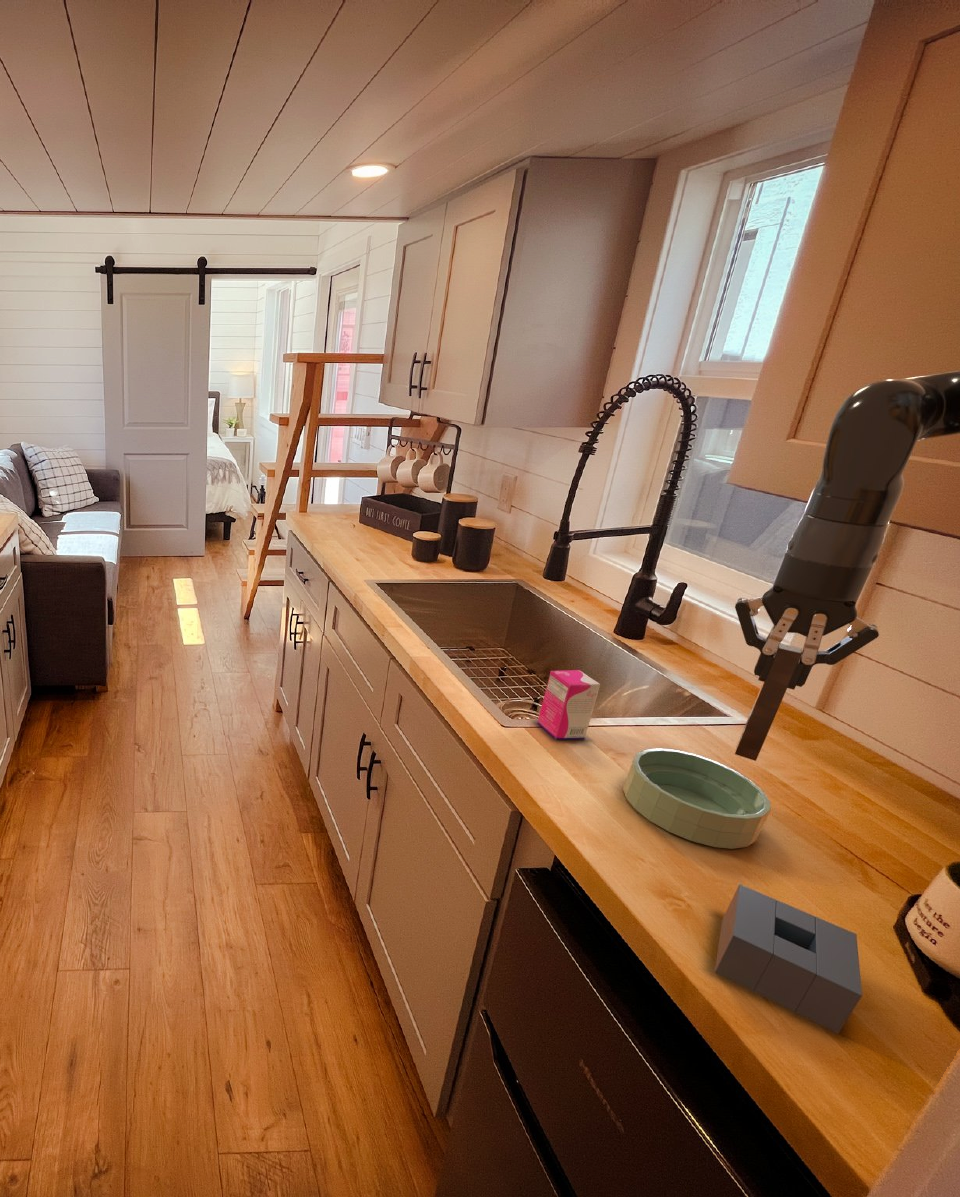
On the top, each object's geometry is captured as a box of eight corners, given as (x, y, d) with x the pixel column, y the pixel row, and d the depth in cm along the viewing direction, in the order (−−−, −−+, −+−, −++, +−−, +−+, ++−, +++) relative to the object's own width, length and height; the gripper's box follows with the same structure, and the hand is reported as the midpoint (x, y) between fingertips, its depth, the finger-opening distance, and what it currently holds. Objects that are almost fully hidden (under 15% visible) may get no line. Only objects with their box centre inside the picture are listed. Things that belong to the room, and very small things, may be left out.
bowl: (757, 812, 100) (772, 780, 98) (751, 870, 89) (768, 835, 86) (632, 765, 110) (643, 736, 108) (612, 812, 99) (624, 780, 97)
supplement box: (564, 722, 122) (580, 669, 118) (585, 740, 117) (603, 685, 113) (535, 722, 122) (550, 669, 118) (554, 741, 116) (571, 685, 112)
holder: (834, 971, 74) (856, 933, 72) (837, 1035, 67) (862, 995, 65) (721, 919, 81) (739, 883, 78) (714, 973, 74) (733, 935, 72)
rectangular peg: (756, 754, 87) (802, 648, 81) (755, 761, 86) (802, 653, 80) (735, 747, 89) (779, 642, 83) (734, 754, 87) (778, 648, 81)
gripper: (911, 562, 75) (849, 692, 81) (755, 537, 84) (711, 656, 90) (918, 576, 70) (852, 714, 76) (751, 549, 79) (704, 674, 85)
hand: (775, 682), depth 83 cm, fingers closed on rectangular peg, 2 cm apart
